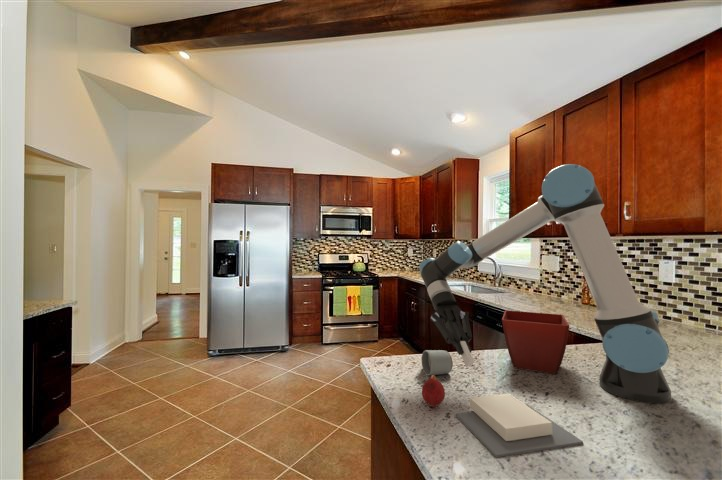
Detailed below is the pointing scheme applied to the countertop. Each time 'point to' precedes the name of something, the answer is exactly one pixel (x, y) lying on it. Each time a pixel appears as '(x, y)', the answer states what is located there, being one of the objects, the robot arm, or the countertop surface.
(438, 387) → the onion
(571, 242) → the robot arm
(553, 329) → the plant pot
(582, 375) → the countertop surface
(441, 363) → the ceramic mug
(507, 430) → the tile
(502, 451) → the mat
